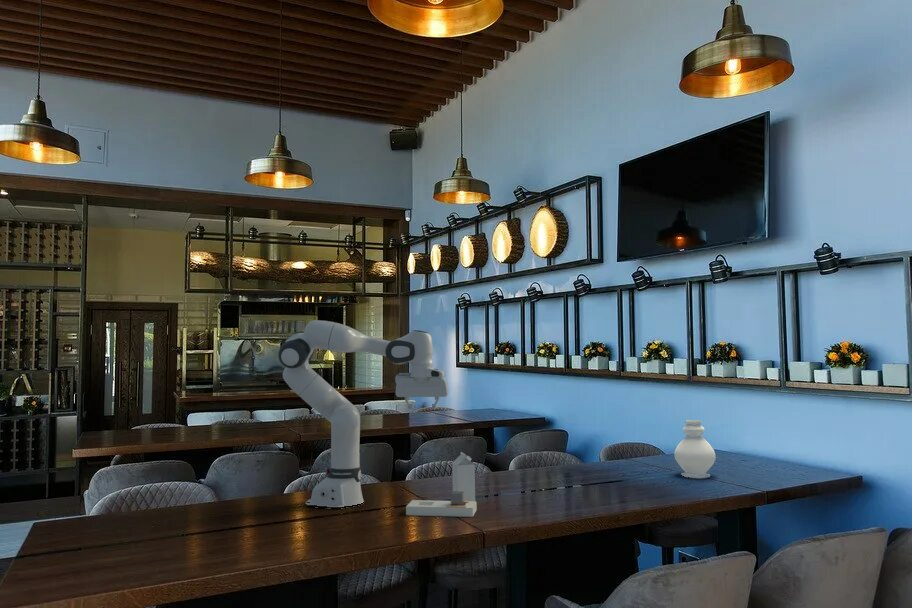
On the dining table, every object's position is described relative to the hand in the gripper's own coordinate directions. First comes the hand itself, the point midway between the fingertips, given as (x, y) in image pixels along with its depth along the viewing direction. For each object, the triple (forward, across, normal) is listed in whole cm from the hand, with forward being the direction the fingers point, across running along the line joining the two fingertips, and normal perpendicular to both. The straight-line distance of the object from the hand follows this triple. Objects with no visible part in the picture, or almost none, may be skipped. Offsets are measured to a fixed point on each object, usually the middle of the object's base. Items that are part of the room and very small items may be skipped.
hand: (422, 408), depth 252 cm
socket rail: (+37, +9, -10) cm, 39 cm away
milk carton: (+37, +14, +10) cm, 41 cm away
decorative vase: (+37, +112, +73) cm, 139 cm away
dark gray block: (+36, +15, -10) cm, 40 cm away
